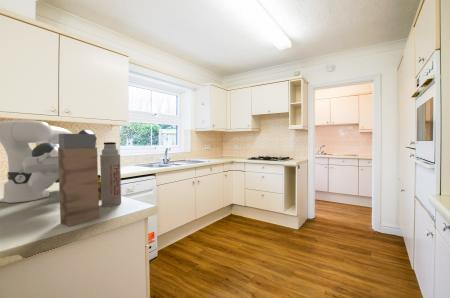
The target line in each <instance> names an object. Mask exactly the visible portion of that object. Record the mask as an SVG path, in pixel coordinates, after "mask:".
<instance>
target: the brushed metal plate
mask: <svg viewBox="0 0 450 298" xmlns="http://www.w3.org/2000/svg"><path fill="white" fill-rule="evenodd" d="M95 135H96V134H95V133H94V134H78V133H73V134H59V149H70V148H97V147H96V145H97V142H96V143H95Z"/></svg>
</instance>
